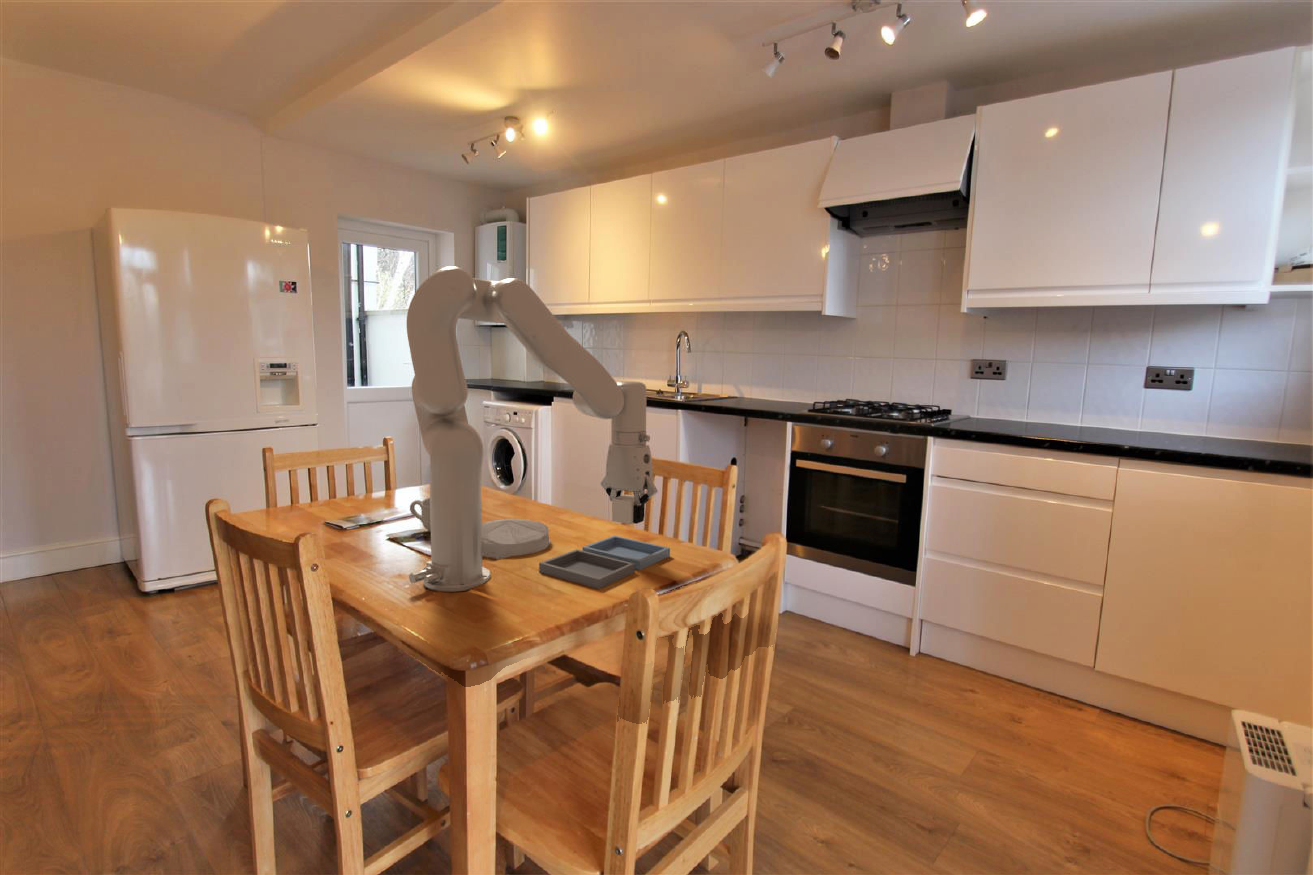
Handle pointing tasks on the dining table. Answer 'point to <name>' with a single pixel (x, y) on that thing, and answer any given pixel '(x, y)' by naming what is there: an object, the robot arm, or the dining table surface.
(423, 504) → the teacup
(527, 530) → the food container
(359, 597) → the dining table surface
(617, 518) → the stone block
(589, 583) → the charcoal bin
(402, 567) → the dining table surface
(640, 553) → the slate-blue bin
